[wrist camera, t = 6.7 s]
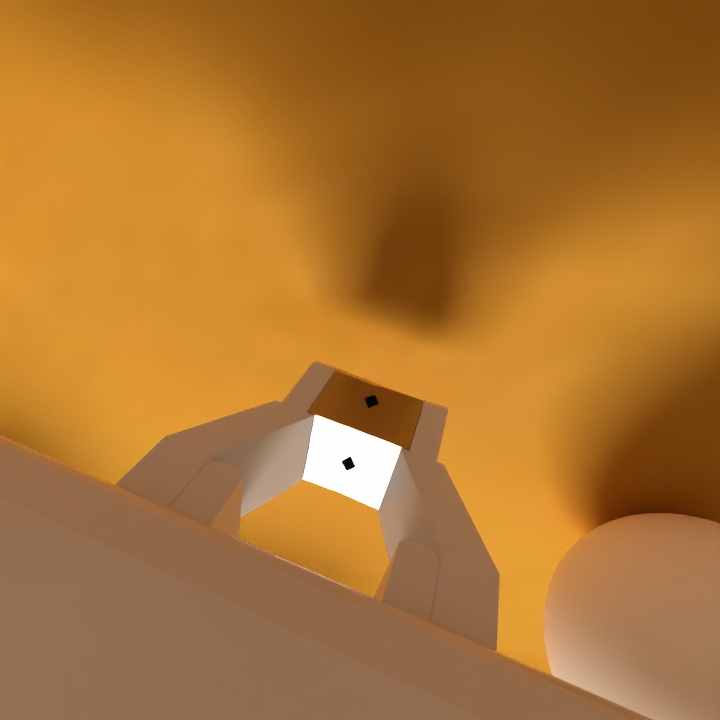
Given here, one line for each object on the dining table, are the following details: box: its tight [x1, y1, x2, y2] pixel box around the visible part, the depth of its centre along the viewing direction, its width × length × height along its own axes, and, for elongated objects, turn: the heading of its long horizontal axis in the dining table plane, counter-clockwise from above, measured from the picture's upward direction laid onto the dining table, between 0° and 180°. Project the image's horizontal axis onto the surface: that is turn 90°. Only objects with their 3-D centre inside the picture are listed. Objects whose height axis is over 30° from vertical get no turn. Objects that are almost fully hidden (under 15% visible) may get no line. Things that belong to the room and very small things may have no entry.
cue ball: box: [544, 513, 720, 720], centre depth 9 cm, size 6×6×6 cm
